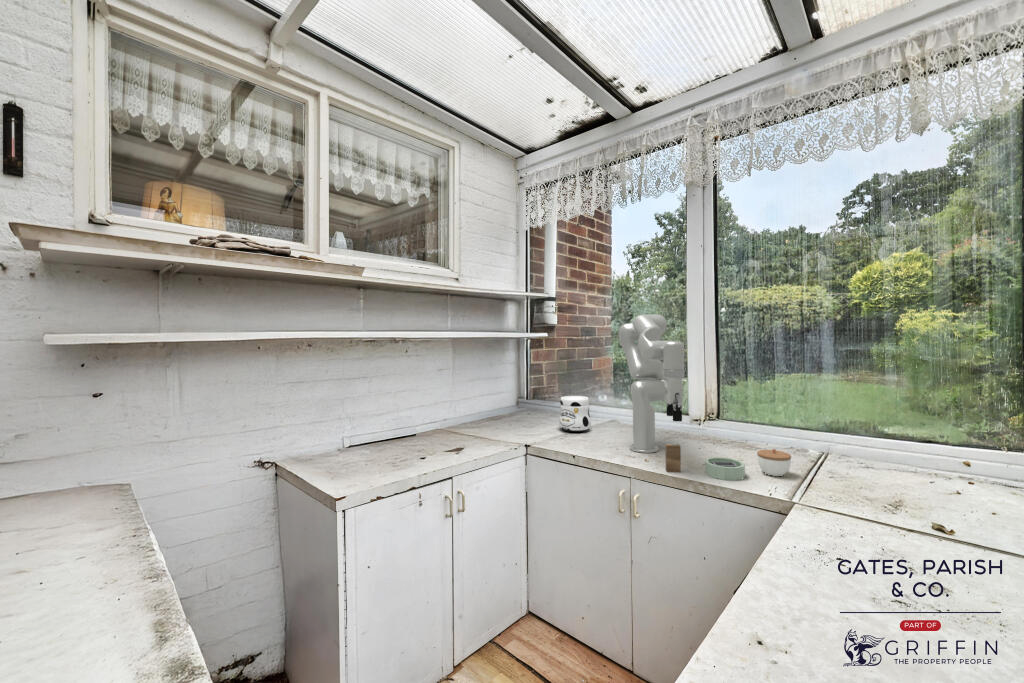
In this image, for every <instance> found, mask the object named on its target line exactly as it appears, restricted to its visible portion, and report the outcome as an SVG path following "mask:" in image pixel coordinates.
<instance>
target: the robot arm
mask: <svg viewBox="0 0 1024 683" xmlns="http://www.w3.org/2000/svg"><path fill="white" fill-rule="evenodd" d="M667 326H668V323H667V320H666V318H665V316H663V315H662V314H657V313H656V314H654V313H653V314H639V315H636V317H634V318H633V320H632V322H629V323H623V324H622V325H620V327H619V328H618V340H619V343H620V346H621V347H622V348H621V349H622V350H623V351H624V354H625V358H626V363H627V366H628V371H629V374H630V377H631V378H632V379H634V380H635V381H633V382H632V383H631V385H630V389H629V390H630V396H631V403H632V444H630V445H629V450H631V451H633V452H637V453H642V454H643V453H644V454H650V453H651V454H652V453H657V452H659V450H660V448H659V446H657V445H656V425H655V424H656V415H655V409H654V407H653V406H652V405H651V403H650V402H657V401H658V402H659V401H661V402H662V401H664V402H665V403H666V416H667V417H672V421H673V422H682V421H683V406H682V404H683V400H684V395H683V394H684V392H683V379H685V345H684V344H685V343H684V342H683V341H675V340H660V339H661V338H662V335H663V333H665V332H666V330H667ZM662 361H663V362H662Z"/></svg>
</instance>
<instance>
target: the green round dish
mask: <svg viewBox="0 0 1024 683" xmlns="http://www.w3.org/2000/svg"><path fill="white" fill-rule="evenodd" d="M705 472H706V473H707V474H706V473H705ZM704 473H705V474H706V476H708V475H710V476H709V477H711V476H712V477H711V478H713V477H715V478H714V479H717V478H719V479H718V480H722V479H725V480H724V481H735V480H736V481H738V480H737V479H741V480H743V479H742V478H744V479H745V477H746V464H745V463H744V462H743V461H741V460H737V459H735V458H730V457H729V458H728V457H718V456H716V457H714V456H713V457H712V456H711V457H707V458H706V459H705V460H704ZM744 476H745V477H744Z"/></svg>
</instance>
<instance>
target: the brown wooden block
mask: <svg viewBox="0 0 1024 683" xmlns="http://www.w3.org/2000/svg"><path fill="white" fill-rule="evenodd" d="M664 454H665V471H666V472H667V473H680V472H682V470H681V469H682V468H681V466H682V464H681V463H682V462H681V461H682V460H681V459H682V455H681V445H680V444H671V443H670V444H666V443H665V453H664Z"/></svg>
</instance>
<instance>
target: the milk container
mask: <svg viewBox="0 0 1024 683" xmlns="http://www.w3.org/2000/svg"><path fill="white" fill-rule="evenodd" d="M589 401H590V399H589V397H588V396H586V395H585V396H584V395H564V396H561V397H560V401H559V402H560V406H559V407H560V413H559V414H560V415H559V419H558V424H559V428H560V429H561V430H562V431H565V432H569V433H570V432H571V433H572V432H573V433H582V432H586V431H588V430H590V429H591V426H592V420H591V416H590V402H589Z"/></svg>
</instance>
